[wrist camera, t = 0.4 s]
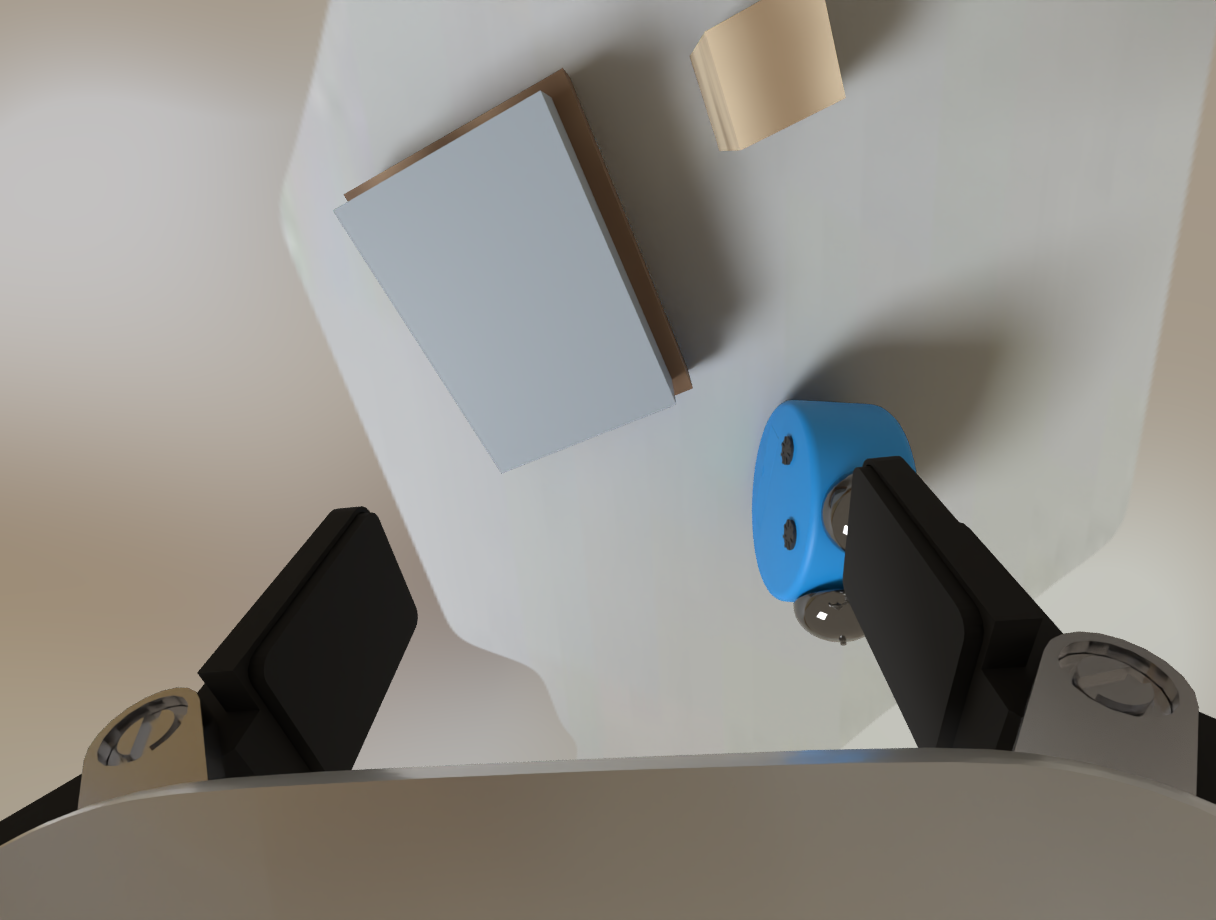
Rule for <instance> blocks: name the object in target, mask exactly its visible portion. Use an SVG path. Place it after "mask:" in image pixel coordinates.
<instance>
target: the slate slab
mask: <svg viewBox="0 0 1216 920" xmlns="http://www.w3.org/2000/svg"><path fill="white" fill-rule="evenodd" d="M333 212H334V213H335V215H336V216H337V218H338V220H339V221H340V223H341V224H342V226H343V227H344V229H345V231H346V232H347V234H348V235H349V237H350V238H351V240H352V241H353V243H354V245H355V246H356V248H357V249H358V251H359V252H360V254H361V255H362V257H363V259H364V260H365V262H366V263H367V265H368V266H369V268H370V270H371V271H372V273H373V274H374V276H375V277H376V279H377V280H378V282H379V284H380V285H381V287H382V288H383V290H384V291H385V293H386V294H387V296H388V298H389V299H390V301H391V302H392V304H393V305H394V307H395V308H396V310H397V312H398V313H399V315H400V316H401V318H402V319H403V321H404V323H405V324H406V326H407V327H408V329H409V330H410V332H411V333H412V335H413V337H414V338H415V340H416V341H417V343H418V344H419V346H420V347H421V349H422V351H423V352H424V354H425V355H426V357H427V358H428V360H429V362H430V363H431V365H432V366H433V368H434V369H435V371H436V372H437V374H438V376H439V377H440V379H441V380H442V382H443V383H444V385H445V386H446V388H447V390H448V391H449V393H450V394H451V396H452V397H453V399H454V400H455V402H456V404H457V405H458V407H459V408H460V410H461V411H462V413H463V415H464V416H465V418H466V419H467V421H468V422H469V424H470V425H471V427H472V429H473V430H474V432H475V433H476V435H477V436H478V438H479V439H480V441H481V443H482V444H483V446H484V447H485V449H486V450H487V452H488V454H489V455H490V457H491V458H492V460H493V461H494V463H495V464H496V466H497V468H498V469H499V471H500V472H501V474H502V473H505V472H507V471H510V470H512V469H515V468H517V467H520V466H522V465H525V464H527V463H530V462H532V461H535V460H537V459H540V458H542V457H545V456H547V455H550V454H553V453H555V452H558V451H560V450H563V449H565V448H568V447H570V446H573V445H575V444H578V443H580V442H583V441H585V440H588V439H590V438H593V437H595V436H598V435H600V434H603V433H605V432H608V431H610V430H613V429H616V428H618V427H621V426H623V425H626V424H628V423H631V422H633V421H636V420H638V419H641V418H643V417H646V416H648V415H651V414H653V413H656V412H658V411H661V410H663V409H666V408H668V407H671V406H674V405H676V400H675V394H674V389H673V383H672V379H671V376H670V374H669V372H668V369H667V367H666V365H665V362H664V360H663V358H662V355H661V353H660V351H659V348H658V346H657V344H656V341H655V339H654V337H653V334H652V332H651V330H650V327H649V325H648V323H647V320H646V318H645V315H644V313H643V311H642V308H641V306H640V304H639V301H638V299H637V297H636V294H635V292H634V290H633V287H632V285H631V283H630V280H629V278H628V276H627V273H626V271H625V269H624V266H623V264H622V262H621V259H620V257H619V255H618V252H617V250H616V248H615V245H614V243H613V241H612V238H611V236H610V234H609V231H608V229H607V227H606V224H605V222H604V219H603V217H602V215H601V212H600V210H599V208H598V205H597V203H596V201H595V198H594V196H593V194H592V191H591V189H590V187H589V184H588V182H587V180H586V177H585V175H584V173H583V170H582V168H581V166H580V163H579V161H578V159H577V156H576V154H575V152H574V149H573V147H572V145H571V142H570V140H569V138H568V135H567V133H566V130H565V128H564V126H563V123H562V121H561V119H560V116H559V114H558V112H557V109H556V107H555V105H554V102H553V100H552V98H551V97H550V96H548V95H547V94H545V93H544V92H542V91H538V92H537V93H535V94H533V95H532V96H530V97H528V98H526V99H525V100H523V101H521V102H519V103H518V104H516V105H514V106H513V107H511V108H509V109H507V110H506V111H504V112H502V113H500V114H499V115H497V116H495V117H493V118H492V119H490V120H488V121H487V122H485V123H483V124H481V125H480V126H478V127H476V128H474V129H473V130H471V131H469V132H468V133H466V134H464V135H462V136H461V137H459V138H457V139H455V140H454V141H452V142H450V143H449V144H447V145H445V146H443V147H442V148H440V149H438V150H436V151H435V152H433V153H431V154H429V155H428V156H426V157H424V158H423V159H421V160H419V161H417V162H416V163H414V164H412V165H410V166H409V167H407V168H405V169H404V170H402V171H400V172H398V173H397V174H395V175H393V176H391V177H390V178H388V179H386V180H385V181H383V182H381V183H379V184H378V185H376V186H374V187H372V188H371V189H369V190H367V191H365V192H364V193H362V194H360V195H359V196H357V197H355V198H353V199H352V200H350V201H348V202H346V203H345V204H343V205H341V206H340V207H338V208H336V209H334V210H333Z"/></svg>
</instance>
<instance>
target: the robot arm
mask: <svg viewBox="0 0 1216 920" xmlns="http://www.w3.org/2000/svg"><path fill="white" fill-rule="evenodd" d="M843 587H844V591H845V595H846V597H847V599H848V601H849V604H850V606H851V608H852V610H853V612H854V614H855V616H856V618H857V620H858V622H859V624H860V627H861V629H862V631H863V633H864V635H865V637H866V639H867V641H868V643H869V645H870V648H871V650H872V652H873V654H874V656H875V658H876V660H877V662H878V664H879V666H880V668H881V671H882V673H883V675H884V677H885V679H886V681H887V683H888V685H889V687H890V689H891V692H892V694H893V696H894V698H895V700H896V702H897V704H898V706H899V708H900V710H901V712H902V714H903V717H904V719H905V721H906V723H907V725H908V727H909V729H910V731H911V733H912V735H913V738H914V739H915V742H916V744H917V746H918V748H898V749H897V748H894V749H893V748H891V749H845V750H806V751H780V752H754V753H728V754H702V755H675V756H650V757H626V758H603V759H580V760H556V761H534V762H513V763H490V764H467V765H446V766H426V767H406V768H387V769H366V770H352V767H353V765H354V763H355V761H356V759H357V757H358V754H359V752H360V750H361V748H362V745H363V743H364V741H365V739H366V737H367V734H368V732H369V730H370V728H371V725H372V723H373V721H374V719H375V717H376V714H377V712H378V710H379V707H380V706H381V703H382V701H383V699H384V697H385V694H386V692H387V690H388V688H389V686H390V683H391V681H392V679H393V677H394V675H395V672H396V670H397V668H398V666H399V663H400V661H401V659H402V657H403V655H404V652H405V650H406V648H407V646H408V644H409V641H410V639H411V637H412V635H413V632H414V630H415V628H416V625H417V619H418V614H417V609H416V606H415V604H414V601H413V599H412V597H411V594H410V592H409V589H408V587H407V585H406V582H405V580H404V578H403V575H402V573H401V570H400V568H399V566H398V563H397V561H396V558H395V556H394V554H393V551H392V549H391V547H390V544H389V542H388V539H387V537H386V535H385V532H384V530H383V527H382V525H381V522H380V520H379V518H378V516H377V515H376V514H375V513H370V512H369V510H367V508H365V507H362V506H361V507H350V508H340V509H334V510H333V511H331V512H330V513H329V514H328V516H327V517H326V518H325V519H324V521H323V522H322V523H321V524H320V525H319V527H318V528H317V529H316V530H315V531H314V533H313V534H312V535H311V536H310V537H309V539H308V540H307V541H306V542H305V544H304V545H303V546H302V547H301V548H300V550H299V551H298V552H297V553H296V554H295V555H294V557H293V558H292V559H291V560H290V562H289V563H288V564H287V565H286V567H285V568H284V569H283V570H282V571H281V572H280V574H279V575H278V576H277V577H276V578H275V580H274V581H273V582H272V583H271V584H270V586H269V587H268V588H267V589H266V590H265V592H264V593H263V594H262V595H261V596H260V598H259V599H258V600H257V601H256V602H255V604H254V605H253V606H252V607H251V609H250V610H249V611H248V612H247V613H246V615H245V616H244V617H243V618H242V619H241V621H240V622H239V623H238V624H237V625H236V627H235V628H234V629H233V630H232V632H231V633H230V634H229V635H228V636H227V638H226V639H225V640H224V641H223V642H222V644H221V645H220V646H219V647H218V648H217V650H216V651H215V652H214V653H213V654H212V656H211V657H210V658H209V659H208V660H207V662H206V663H205V664H204V665H203V667H202V668H201V669H200V670H199V671H198V674H199V676H200V677H201V678H202V680H203V681H204V683H205V684H204V685H203V686H202V688H201V689H200V690H199V691H198V693H197V692H196V691H194V690H192V689H190V688H177V687H176V688H172V689H168V690H163V691H160V692H158V693H155V694H153V695H151V696H148V697H146V698H144V699H142V700H141V701H139V702H137V703H135V704H134V705H132V706H130V707H129V708H127V709H126V710H124V711H123V712H122V713H121V714H119V715H118V716H117V717H115V718H114V719H113V720H111V721H110V723H109V724H107V726H106V727H105V728H104V729H103V730H102V731H101V732H100V733H99V734H98V735H97V736H96V738H95V739H94V741H93V742H92V743H91V745H90V746H89V748H88V750H87V753H86V756H85V758H84V762H83V770H82V774H81V775H79V776H77V777H75V778H74V779H72V780H71V781H69V782H67V783H65V784H64V785H62V786H60V787H58V788H57V789H55V790H53V791H52V792H50V793H48V794H46V795H45V796H43V797H42V798H40V799H38V800H36V801H35V802H33V803H31V804H29V805H28V806H26V807H24V808H23V809H21V810H19V811H17V812H16V813H14V814H12V815H11V816H9V817H7V818H5V819H4V820H2V821H0V920H1216V719H1215V718H1212V717H1210V716H1208V715H1205V714H1203V713H1201V712H1199V707H1198V703H1197V699H1196V695H1195V692H1194V691H1193V689H1192V688H1191V686H1190V685H1189V684H1188V682H1187V681H1186V680H1185V678H1184V677H1183V676H1182V675H1181V674H1180V673H1179V672H1177V671H1176V670H1175V669H1174V668H1173V667H1172V666H1170V665H1169V664H1168V663H1167V662H1166V661H1164V660H1163V659H1161V658H1159V657H1158V656H1156V655H1154V654H1153V653H1151V652H1149V651H1148V650H1146V649H1144V648H1142V647H1139V646H1137V645H1135V644H1132V643H1130V642H1127V641H1125V640H1123V639H1119V638H1115V637H1111V636H1107V635H1104V634H1100V633H1090V632H1073V633H1065V634H1063V633H1062V632H1061V631H1060V630H1059V629H1058V627H1057V626H1056V625H1055V624H1054V623H1053V622H1052V621H1051V619H1050V618H1049V617H1048V616H1047V615H1046V614H1045V613H1044V612H1043V610H1042V609H1041V608H1040V607H1039V606H1038V605H1037V604H1036V603H1035V601H1034V600H1033V599H1032V598H1031V597H1030V596H1029V595H1028V594H1027V592H1026V591H1025V590H1024V589H1023V588H1022V587H1021V586H1020V584H1019V583H1018V582H1017V581H1016V580H1015V579H1014V578H1013V577H1012V575H1011V574H1010V573H1009V572H1008V571H1007V570H1006V569H1005V568H1004V566H1003V565H1002V564H1001V563H1000V562H999V561H998V560H997V559H996V557H995V556H994V555H993V554H992V553H991V552H990V551H989V550H988V548H987V547H986V546H985V545H984V544H983V543H982V542H981V541H980V539H979V538H978V537H977V536H976V535H975V534H974V533H973V532H972V530H971V529H970V528H968V527H967V526H966V525H965V524H964V523H960V522H958V520H957V519H956V518H955V517H954V516H953V515H952V514H951V512H950V511H949V510H948V509H947V508H946V507H945V506H944V504H943V503H942V502H941V501H940V500H939V499H938V498H937V496H936V495H935V494H934V493H933V492H932V491H931V490H930V488H929V487H928V486H927V485H926V484H925V483H924V482H923V480H922V479H921V478H920V477H919V476H918V475H917V474H916V472H915V471H914V470H913V469H912V468H911V467H910V466H909V464H908V463H907V462H906V461H905V460H904V459H903V458H902V457H901V456H889V457H878V458H868V459H866V460H865V461H864V463H863V466H862V467H856V468H855V469H854V471H853V477H852V487H851V497H850V507H849V517H848V528H847V538H846V548H845V558H844V568H843Z"/></svg>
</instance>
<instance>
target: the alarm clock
mask: <svg viewBox="0 0 1216 920" xmlns="http://www.w3.org/2000/svg"><path fill="white" fill-rule="evenodd" d="M889 456H901V457H902V458H903V459H904V460H905V461H906V462H907V463H908V464H909V466H910V467H911V468H912V469H913V470H914V471H915V472H916V468H915V463H914V459H913V455H912V451H911V448H910V445H909V442H908V440H907V437H906V435H905V433H904V431H903V429H902V427H901V426H900V424H899V423H898V421H897V420H896V419H895V418H894V417H893V416H892V415H891V414H890V413H889V412H888V411H886V410H885V409H883V408H882V407H879V406H876V405H872V404H859V403H841V402H823V401H805V400H788V401H785V402H783V403H781V404H780V405H779V406H778V407H777V408H776V409H775V410H774V412H773V413H772V415H771V416H770V418H769V420H768V422H767V424H766V427H765V429H764V432H763V435H762V438H761V442H760V446H759V450H758V454H757V460H756V466H755V473H754V482H753V497H752V525H753V539H754V547H755V553H756V559H757V563H758V567H759V571H760V574H761V577H762V579H763V582H764V584H765V586H766V587H767V589H768V590H769V592H770V593H771V594H772V595H773V596H774V597H775V598H777V599H779V600H781V601H787V602H794V603H793V607H794V613H795V616H796V618H797V620H798V622H799V623H800V625H801V626H802V627H803V628H804V629H805V630H806V631H807V632H809V633H810V634H812V635H813V636H816V637H818V638H820V639H823V640H827V641H831V642H840V644H841V645H846V642H850V641H855V640H858V639H860V638H863V637H865V635H864V633H863V631H862V629H861V627H860V624H859V622H858V620H857V618H856V616H855V614H854V612H853V610H852V608H851V606H850V604H849V601H848V599H847V597H846V595H845V591H844V587H843V568H844V558H845V548H846V538H847V528H848V517H849V507H850V497H851V487H852V477H853V471H854V469H855V468H856V467H862V466H863V463H864V461H865V460H866V459H868V458H878V457H889Z"/></svg>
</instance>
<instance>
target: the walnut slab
mask: <svg viewBox="0 0 1216 920" xmlns="http://www.w3.org/2000/svg"><path fill="white" fill-rule="evenodd" d="M538 91H542V92H544V93H545V94H547V95H548V96H550V97H551V98H552V100H553V102H554V105H555V107H556V109H557V112H558V114H559V116H560V119H561V121H562V123H563V126H564V128H565V130H566V133H567V135H568V138H569V140H570V142H571V145H572V147H573V149H574V152H575V154H576V156H577V159H578V161H579V163H580V166H581V168H582V170H583V173H584V175H585V177H586V180H587V182H588V184H589V187H590V189H591V191H592V194H593V196H594V198H595V201H596V203H597V205H598V208H599V210H600V212H601V215H602V217H603V219H604V222H605V224H606V227H607V229H608V231H609V234H610V236H611V238H612V241H613V243H614V245H615V248H616V250H617V252H618V255H619V257H620V259H621V262H622V264H623V266H624V269H625V271H626V273H627V276H628V278H629V280H630V283H631V285H632V287H633V290H634V292H635V294H636V297H637V299H638V301H639V304H640V306H641V308H642V311H643V313H644V315H645V318H646V320H647V323H648V325H649V327H650V330H651V332H652V334H653V337H654V339H655V341H656V344H657V346H658V348H659V351H660V353H661V355H662V358H663V360H664V362H665V365H666V367H667V369H668V372H669V374H670V376H671V379H672V383H673V389H674V394H675V395H677V394H680V393H682V392H685V391H687V390H690V389H692V388H693V387H692V383H691V380H690V376H689V372H688V369H687V366H686V364H685V362H684V359H683V357H682V354H681V352H680V349H679V347H678V344H677V342H676V339H675V337H674V334H673V332H672V329H671V327H670V324H669V322H668V319H667V317H666V315H665V312H664V310H663V307H662V305H661V302H660V300H659V297H658V295H657V292H656V290H655V287H654V285H653V282H652V280H651V277H650V275H649V272H648V270H647V267H646V265H645V263H644V260H643V258H642V255H641V253H640V250H639V248H638V245H637V243H636V240H635V238H634V235H633V233H632V230H631V228H630V225H629V223H628V220H627V218H626V216H625V213H624V211H623V208H622V206H621V203H620V201H619V198H618V196H617V193H616V191H615V188H614V186H613V183H612V181H611V178H610V176H609V173H608V171H607V169H606V166H605V164H604V161H603V159H602V156H601V154H600V151H599V149H598V146H597V144H596V141H595V139H594V136H593V134H592V131H591V129H590V126H589V124H588V121H587V119H586V117H585V114H584V112H583V109H582V107H581V104H580V102H579V99H578V97H577V94H576V92H575V89H574V87H573V84H572V82H571V79H570V77H569V75H568V74H567V73H566V72H565V70H564V69H563V68H562V69H560V70H559V71H557V72H555V73H553V74H552V75H550V76H548V77H547V78H545V79H543V80H541V81H540V82H538V83H536V84H534V85H533V86H531V87H529V88H527V89H526V90H524V91H522V92H521V93H519V94H517V95H515V96H514V97H512V98H510V99H508V100H507V101H505V102H503V103H501V104H500V105H498V106H496V107H495V108H493V109H491V110H489V111H488V112H486V113H484V114H482V115H481V116H479V117H477V118H475V119H474V120H472V121H470V122H469V123H467V124H465V125H463V126H462V127H460V128H458V129H456V130H455V131H453V132H451V133H449V134H448V135H446V136H444V137H443V138H441V139H439V140H437V141H436V142H434V143H432V144H430V145H429V146H427V147H425V148H423V149H422V150H420V151H418V152H417V153H415V154H413V155H411V156H410V157H408V158H406V159H404V160H403V161H401V162H399V163H397V164H396V165H394V166H392V167H391V168H389V169H387V170H385V171H384V172H382V173H380V174H378V175H377V176H375V177H373V178H371V179H370V180H368V181H366V182H365V183H363V184H361V185H359V186H358V187H356V188H354V189H352V190H351V191H349V192H347V193H345V194H344V196H345V198H346V199H347V201H350V200H352V199H353V198H355V197H357V196H359V195H360V194H362V193H364V192H365V191H367V190H369V189H371V188H372V187H374V186H376V185H378V184H379V183H381V182H383V181H385V180H386V179H388V178H390V177H391V176H393V175H395V174H397V173H398V172H400V171H402V170H404V169H405V168H407V167H409V166H410V165H412V164H414V163H416V162H417V161H419V160H421V159H423V158H424V157H426V156H428V155H429V154H431V153H433V152H435V151H436V150H438V149H440V148H442V147H443V146H445V145H447V144H449V143H450V142H452V141H454V140H455V139H457V138H459V137H461V136H462V135H464V134H466V133H468V132H469V131H471V130H473V129H474V128H476V127H478V126H480V125H481V124H483V123H485V122H487V121H488V120H490V119H492V118H493V117H495V116H497V115H499V114H500V113H502V112H504V111H506V110H507V109H509V108H511V107H513V106H514V105H516V104H518V103H519V102H521V101H523V100H525V99H526V98H528V97H530V96H532V95H533V94H535V93H537V92H538Z"/></svg>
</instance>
